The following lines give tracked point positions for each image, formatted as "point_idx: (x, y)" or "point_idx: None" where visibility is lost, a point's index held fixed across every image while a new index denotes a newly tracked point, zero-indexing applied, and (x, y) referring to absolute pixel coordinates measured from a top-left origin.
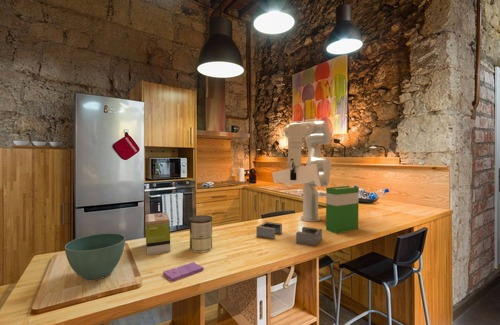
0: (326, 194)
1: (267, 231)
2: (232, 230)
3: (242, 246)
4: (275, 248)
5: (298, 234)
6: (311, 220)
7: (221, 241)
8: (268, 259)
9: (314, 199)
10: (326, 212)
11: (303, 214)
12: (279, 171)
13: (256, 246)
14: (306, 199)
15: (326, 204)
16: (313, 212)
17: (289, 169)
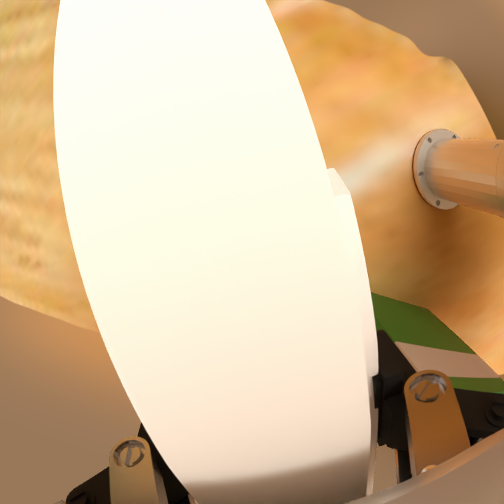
0: (417, 371)
1: None
2: None
3: (19, 185)
4: (67, 265)
5: None
6: (420, 189)
7: (11, 111)
8: (23, 293)
9: (494, 211)
10: (376, 321)
11: (440, 145)
12: (66, 110)
13: (41, 214)
14: (484, 170)
15: (393, 340)
16: (450, 196)
17: (174, 457)
